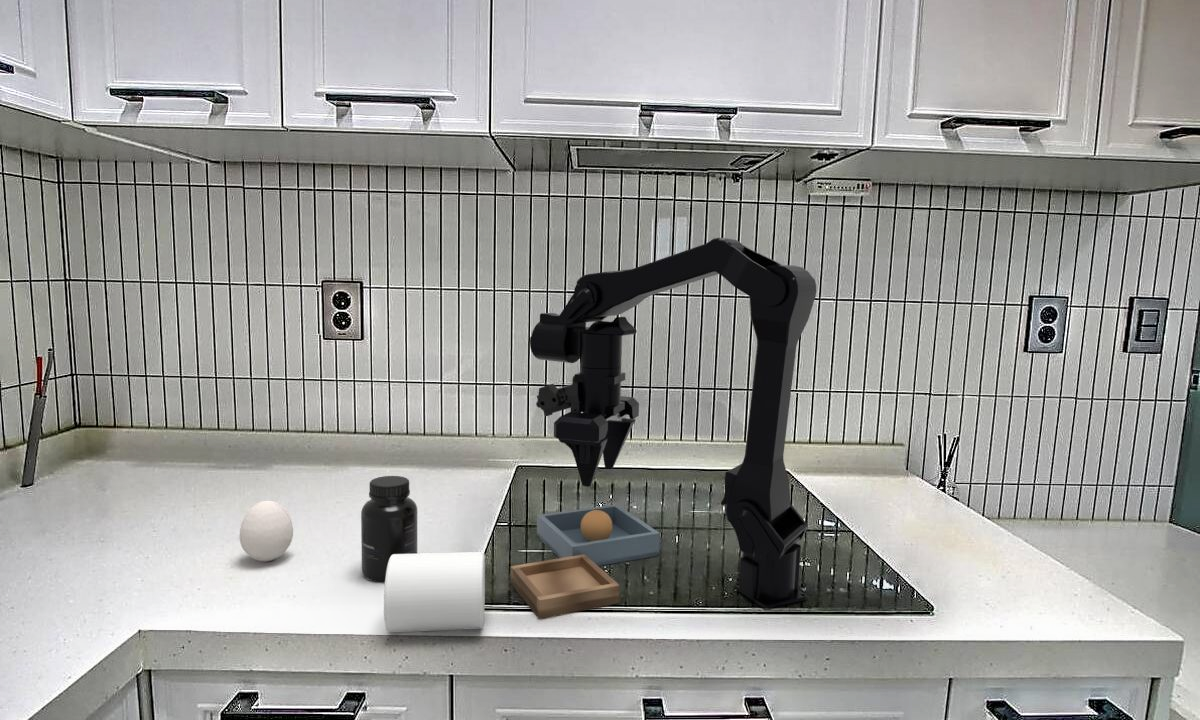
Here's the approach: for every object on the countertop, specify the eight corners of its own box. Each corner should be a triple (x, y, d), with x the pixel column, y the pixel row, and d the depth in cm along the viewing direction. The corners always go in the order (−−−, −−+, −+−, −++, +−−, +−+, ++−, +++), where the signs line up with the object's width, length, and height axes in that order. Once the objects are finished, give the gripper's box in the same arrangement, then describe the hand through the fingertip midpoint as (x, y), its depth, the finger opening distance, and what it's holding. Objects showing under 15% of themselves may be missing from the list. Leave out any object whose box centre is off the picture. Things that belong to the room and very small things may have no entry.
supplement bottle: (352, 581, 89) (349, 486, 87) (376, 559, 95) (374, 471, 94) (405, 585, 88) (404, 490, 86) (426, 563, 95) (425, 474, 93)
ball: (603, 534, 105) (604, 504, 104) (617, 544, 101) (618, 513, 100) (575, 538, 103) (575, 507, 102) (588, 549, 99) (589, 517, 98)
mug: (482, 642, 75) (482, 569, 74) (383, 647, 74) (382, 572, 73) (486, 591, 87) (486, 528, 86) (401, 594, 86) (400, 529, 85)
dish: (616, 524, 110) (617, 504, 110) (659, 555, 99) (659, 533, 98) (536, 536, 105) (537, 515, 104) (572, 570, 93) (572, 547, 93)
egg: (284, 546, 99) (282, 490, 98) (301, 561, 94) (299, 502, 93) (234, 558, 95) (231, 500, 94) (249, 574, 90) (247, 513, 89)
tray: (584, 570, 93) (584, 554, 93) (619, 603, 85) (619, 585, 84) (510, 583, 89) (510, 566, 89) (539, 619, 80) (539, 600, 80)
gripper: (571, 355, 110) (569, 455, 112) (517, 370, 93) (516, 488, 94) (641, 360, 106) (638, 463, 108) (598, 376, 89) (596, 499, 91)
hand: (598, 477), depth 101 cm, fingers open, 9 cm apart
